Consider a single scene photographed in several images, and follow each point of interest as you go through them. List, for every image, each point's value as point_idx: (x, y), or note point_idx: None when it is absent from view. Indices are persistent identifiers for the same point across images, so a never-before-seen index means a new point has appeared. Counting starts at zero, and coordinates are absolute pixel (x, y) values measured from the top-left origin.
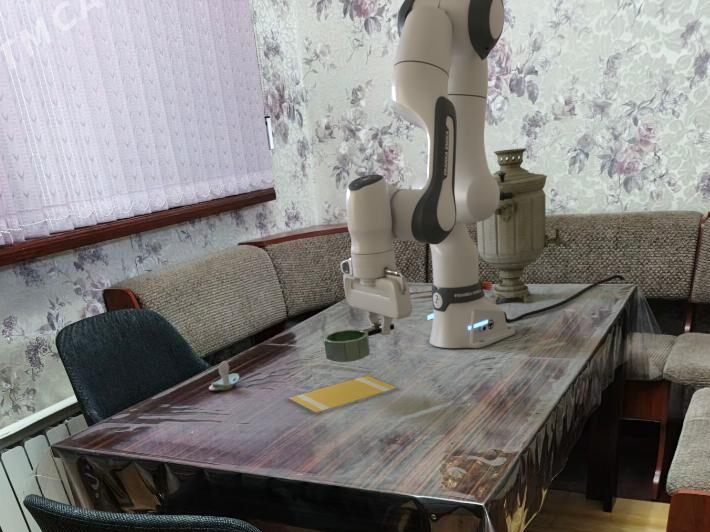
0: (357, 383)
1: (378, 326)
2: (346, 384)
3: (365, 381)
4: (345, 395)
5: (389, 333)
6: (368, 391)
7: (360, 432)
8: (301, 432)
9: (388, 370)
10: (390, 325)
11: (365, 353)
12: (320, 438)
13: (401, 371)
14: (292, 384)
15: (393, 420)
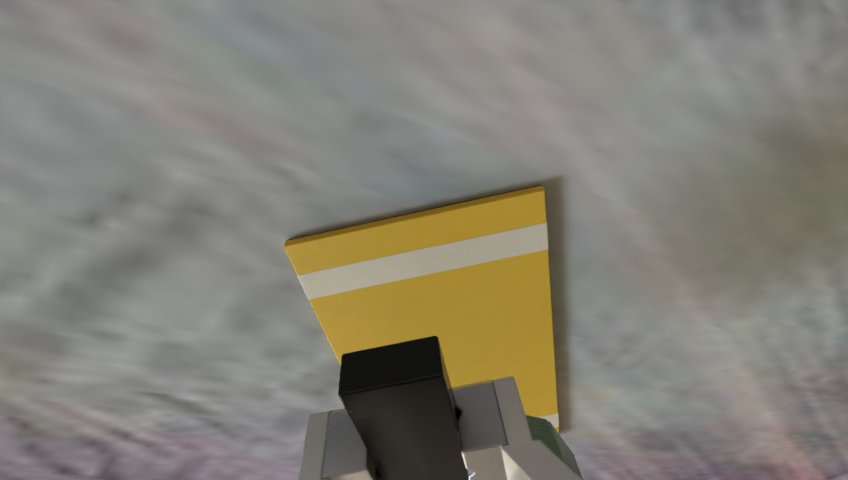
0: (375, 304)
1: (402, 471)
2: (363, 337)
3: (371, 275)
4: (483, 363)
5: (514, 382)
6: (501, 297)
7: (770, 381)
8: (638, 467)
9: (206, 111)
10: (448, 401)
11: (565, 450)
12: (709, 447)
13: (261, 50)
14: (236, 445)
15: (793, 296)
